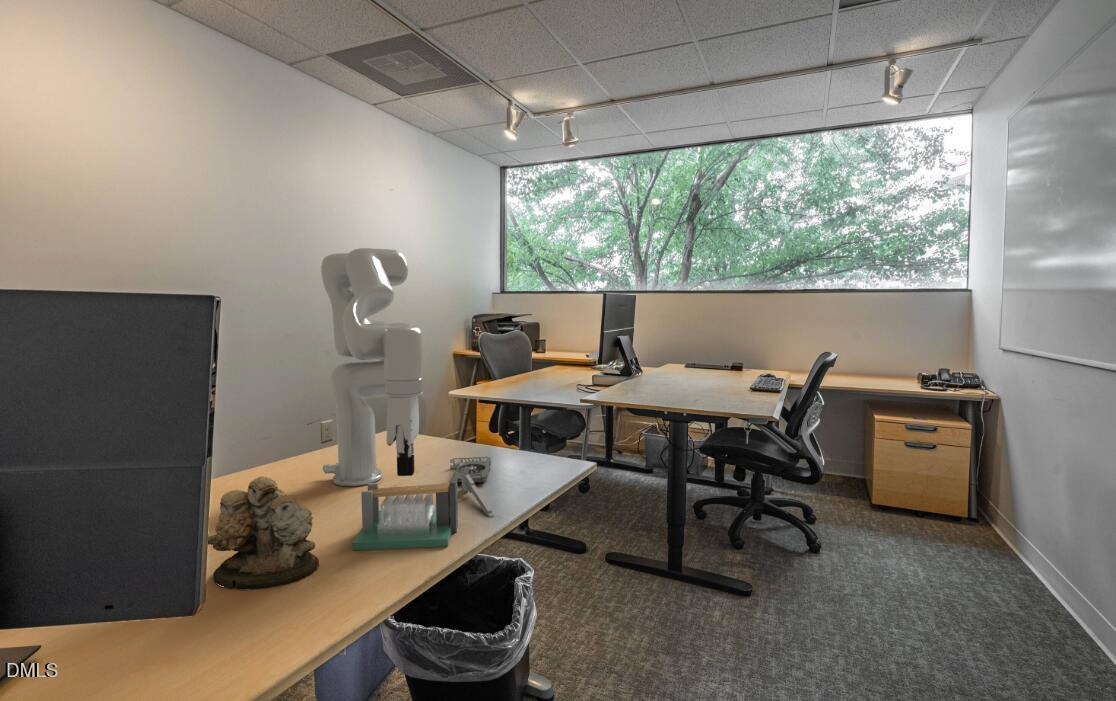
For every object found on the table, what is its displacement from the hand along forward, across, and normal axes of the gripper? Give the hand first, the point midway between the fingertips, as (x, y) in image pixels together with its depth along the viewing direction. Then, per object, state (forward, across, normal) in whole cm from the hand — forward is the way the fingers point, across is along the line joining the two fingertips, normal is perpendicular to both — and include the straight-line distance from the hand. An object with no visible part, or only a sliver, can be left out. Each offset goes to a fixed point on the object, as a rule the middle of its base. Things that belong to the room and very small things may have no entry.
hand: (405, 474), depth 109 cm
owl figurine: (+12, +16, -22) cm, 29 cm away
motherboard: (+12, +1, 0) cm, 12 cm away
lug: (+12, +1, +8) cm, 14 cm away
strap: (+4, +1, +1) cm, 4 cm away
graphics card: (+13, -34, +10) cm, 38 cm away
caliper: (+12, -14, +14) cm, 23 cm away
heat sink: (+10, +1, 0) cm, 10 cm away
